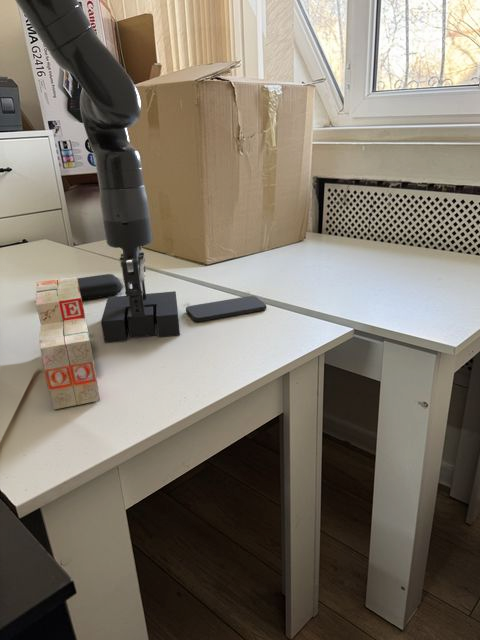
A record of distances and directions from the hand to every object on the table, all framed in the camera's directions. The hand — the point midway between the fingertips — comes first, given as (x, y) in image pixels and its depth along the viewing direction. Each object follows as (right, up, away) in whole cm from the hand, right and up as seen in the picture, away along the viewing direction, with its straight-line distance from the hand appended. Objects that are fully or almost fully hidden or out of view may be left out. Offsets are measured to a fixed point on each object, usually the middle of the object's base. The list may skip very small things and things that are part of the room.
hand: (139, 307), depth 90 cm
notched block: (0, -3, +5) cm, 6 cm away
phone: (+15, 0, +10) cm, 18 cm away
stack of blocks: (-7, -11, -12) cm, 18 cm away
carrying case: (-17, +5, +23) cm, 29 cm away
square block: (0, -4, +2) cm, 5 cm away
